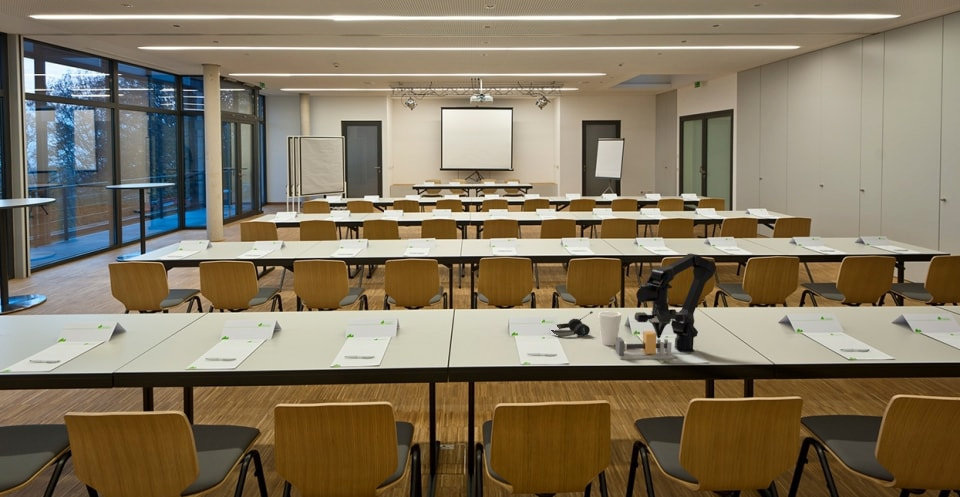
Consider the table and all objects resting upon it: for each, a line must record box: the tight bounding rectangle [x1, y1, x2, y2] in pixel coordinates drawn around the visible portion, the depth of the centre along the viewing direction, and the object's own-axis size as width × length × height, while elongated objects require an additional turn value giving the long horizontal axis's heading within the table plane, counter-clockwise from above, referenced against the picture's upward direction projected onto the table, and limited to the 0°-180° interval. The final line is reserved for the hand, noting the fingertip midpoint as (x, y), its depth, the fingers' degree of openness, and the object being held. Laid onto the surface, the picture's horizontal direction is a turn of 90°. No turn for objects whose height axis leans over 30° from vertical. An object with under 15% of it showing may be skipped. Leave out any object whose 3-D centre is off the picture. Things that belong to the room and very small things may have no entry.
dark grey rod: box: [624, 341, 668, 351], centre depth 290 cm, size 21×3×3 cm, turn 93°
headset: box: [551, 311, 594, 338], centre depth 325 cm, size 14×10×20 cm
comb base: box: [613, 336, 676, 360], centre depth 291 cm, size 22×10×7 cm, turn 93°
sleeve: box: [641, 330, 657, 354], centre depth 290 cm, size 4×5×8 cm
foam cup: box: [598, 310, 622, 346], centre depth 307 cm, size 10×9×13 cm
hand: (658, 338), depth 290 cm, fingers closed
